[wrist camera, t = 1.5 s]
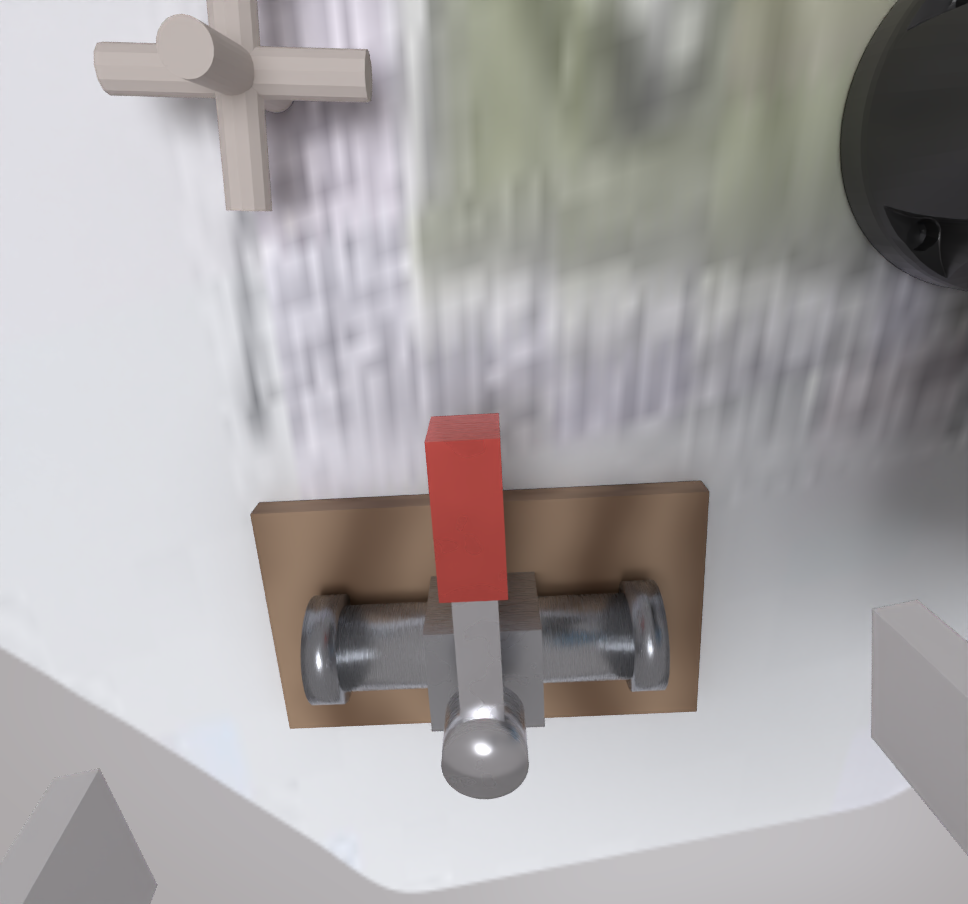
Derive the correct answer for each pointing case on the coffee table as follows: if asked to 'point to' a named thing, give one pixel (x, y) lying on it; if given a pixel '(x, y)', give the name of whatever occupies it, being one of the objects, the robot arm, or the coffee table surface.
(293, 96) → the pipe connector
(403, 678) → the valve body
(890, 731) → the robot arm
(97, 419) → the coffee table surface
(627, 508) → the walnut board
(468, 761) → the valve handle
